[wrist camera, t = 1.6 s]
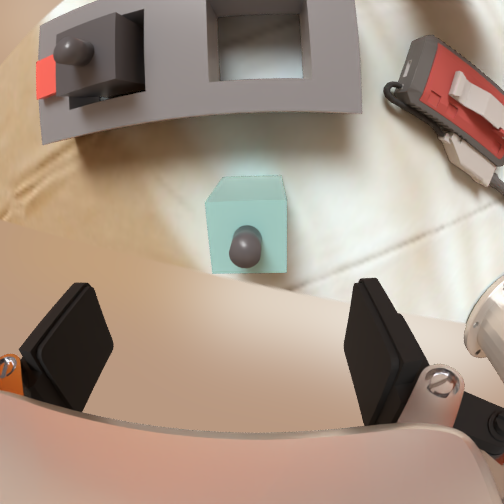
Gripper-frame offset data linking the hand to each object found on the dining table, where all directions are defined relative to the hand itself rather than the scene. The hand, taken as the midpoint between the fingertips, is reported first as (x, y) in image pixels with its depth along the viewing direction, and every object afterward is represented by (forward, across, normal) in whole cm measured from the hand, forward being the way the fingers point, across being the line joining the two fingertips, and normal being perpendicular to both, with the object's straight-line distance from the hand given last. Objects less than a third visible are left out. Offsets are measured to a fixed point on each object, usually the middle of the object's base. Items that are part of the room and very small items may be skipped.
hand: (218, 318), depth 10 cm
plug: (+15, -1, 0) cm, 15 cm away
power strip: (+15, +3, -12) cm, 19 cm away
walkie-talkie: (+15, -21, -7) cm, 26 cm away
